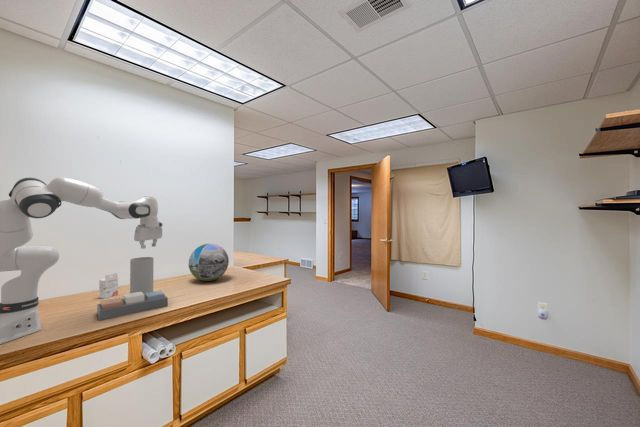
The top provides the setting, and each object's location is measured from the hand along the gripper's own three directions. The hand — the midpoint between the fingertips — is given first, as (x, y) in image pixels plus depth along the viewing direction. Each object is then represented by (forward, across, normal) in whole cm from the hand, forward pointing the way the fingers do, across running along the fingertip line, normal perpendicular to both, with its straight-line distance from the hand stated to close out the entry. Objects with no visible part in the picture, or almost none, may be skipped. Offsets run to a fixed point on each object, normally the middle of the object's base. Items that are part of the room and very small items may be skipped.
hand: (148, 247), depth 156 cm
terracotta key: (+31, -14, +11) cm, 36 cm away
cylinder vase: (+34, +15, +14) cm, 40 cm away
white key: (+30, -7, +4) cm, 31 cm away
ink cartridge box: (+34, +16, +36) cm, 52 cm away
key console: (+34, -7, +4) cm, 35 cm away
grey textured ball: (+34, +58, -11) cm, 68 cm away
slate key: (+31, 0, -4) cm, 32 cm away
